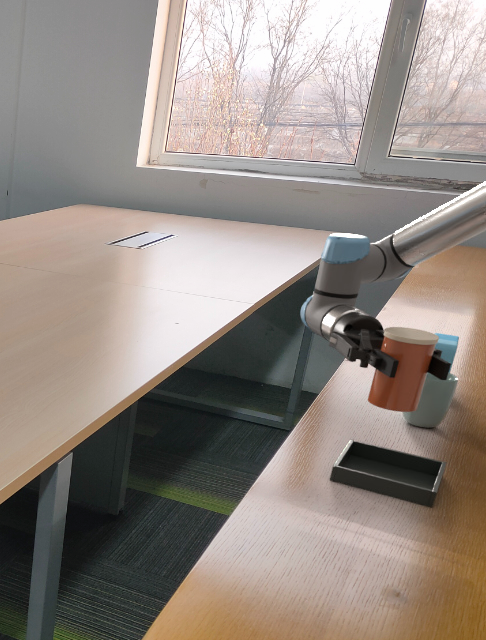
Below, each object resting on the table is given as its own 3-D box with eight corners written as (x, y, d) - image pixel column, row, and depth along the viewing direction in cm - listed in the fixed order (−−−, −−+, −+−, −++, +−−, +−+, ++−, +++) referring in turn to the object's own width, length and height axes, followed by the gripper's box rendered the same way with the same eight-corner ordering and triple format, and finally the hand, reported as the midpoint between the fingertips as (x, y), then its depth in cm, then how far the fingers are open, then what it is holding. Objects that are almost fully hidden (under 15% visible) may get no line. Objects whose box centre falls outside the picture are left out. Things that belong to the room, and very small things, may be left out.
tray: (441, 479, 130) (446, 462, 129) (431, 511, 119) (436, 492, 118) (346, 455, 138) (350, 439, 136) (328, 483, 127) (333, 465, 126)
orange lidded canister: (421, 403, 132) (441, 333, 128) (415, 416, 126) (436, 342, 122) (370, 392, 136) (388, 324, 132) (362, 404, 130) (380, 333, 126)
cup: (447, 434, 149) (463, 383, 145) (400, 427, 151) (415, 377, 148) (438, 420, 156) (453, 371, 152) (394, 413, 158) (407, 365, 154)
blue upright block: (441, 403, 165) (457, 347, 161) (416, 398, 168) (431, 343, 163) (443, 388, 175) (459, 334, 170) (420, 383, 177) (435, 331, 172)
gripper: (403, 353, 146) (479, 396, 125) (292, 348, 147) (348, 390, 126) (414, 313, 143) (493, 350, 122) (301, 308, 144) (360, 344, 123)
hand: (420, 370), depth 124 cm, fingers closed on orange lidded canister, 7 cm apart
